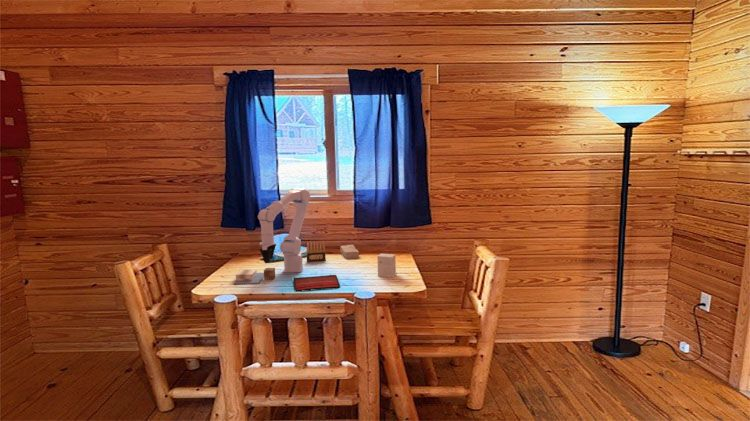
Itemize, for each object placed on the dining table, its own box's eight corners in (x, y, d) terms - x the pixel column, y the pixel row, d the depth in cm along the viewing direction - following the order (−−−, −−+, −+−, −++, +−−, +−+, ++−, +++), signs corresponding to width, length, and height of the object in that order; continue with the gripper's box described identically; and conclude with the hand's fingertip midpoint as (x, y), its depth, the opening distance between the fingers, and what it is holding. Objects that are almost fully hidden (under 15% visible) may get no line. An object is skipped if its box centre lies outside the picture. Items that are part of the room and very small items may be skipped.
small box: (395, 274, 212) (395, 254, 211) (392, 277, 207) (392, 257, 205) (381, 273, 215) (380, 253, 213) (377, 276, 210) (377, 255, 208)
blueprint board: (266, 273, 215) (266, 267, 215) (258, 284, 200) (258, 276, 199) (243, 274, 215) (242, 267, 215) (233, 284, 199) (233, 277, 199)
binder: (293, 277, 203) (336, 274, 208) (293, 281, 204) (336, 278, 208) (294, 289, 188) (340, 285, 193) (294, 294, 188) (341, 290, 193)
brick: (359, 258, 244) (359, 250, 243) (345, 259, 242) (345, 251, 241) (353, 251, 260) (353, 244, 259) (340, 252, 258) (339, 245, 257)
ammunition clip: (325, 259, 241) (324, 239, 239) (325, 260, 239) (325, 240, 237) (306, 261, 238) (305, 240, 236) (307, 262, 236) (306, 241, 235)
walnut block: (275, 277, 210) (274, 267, 209) (273, 280, 206) (272, 270, 205) (266, 277, 210) (265, 267, 209) (264, 280, 205) (263, 270, 205)
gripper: (262, 231, 211) (264, 257, 213) (255, 237, 197) (256, 265, 199) (276, 230, 211) (278, 256, 213) (270, 236, 197) (271, 264, 199)
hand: (268, 260), depth 206 cm, fingers open, 7 cm apart
